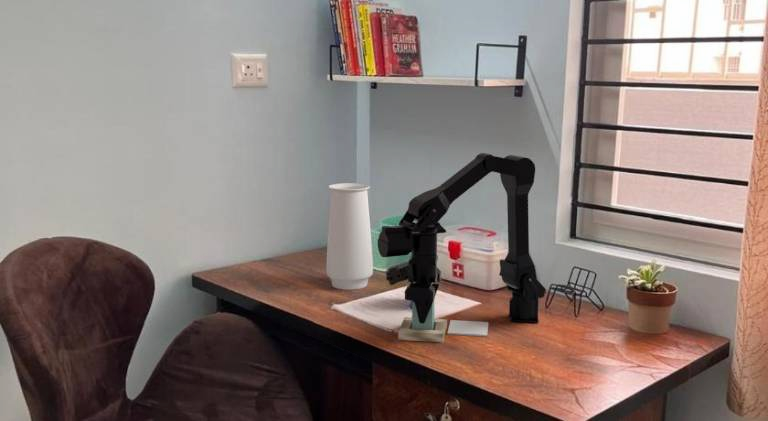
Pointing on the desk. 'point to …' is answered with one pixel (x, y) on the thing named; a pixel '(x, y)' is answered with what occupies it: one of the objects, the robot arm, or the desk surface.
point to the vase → (349, 237)
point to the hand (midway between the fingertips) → (423, 319)
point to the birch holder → (422, 331)
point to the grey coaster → (468, 328)
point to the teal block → (428, 322)
